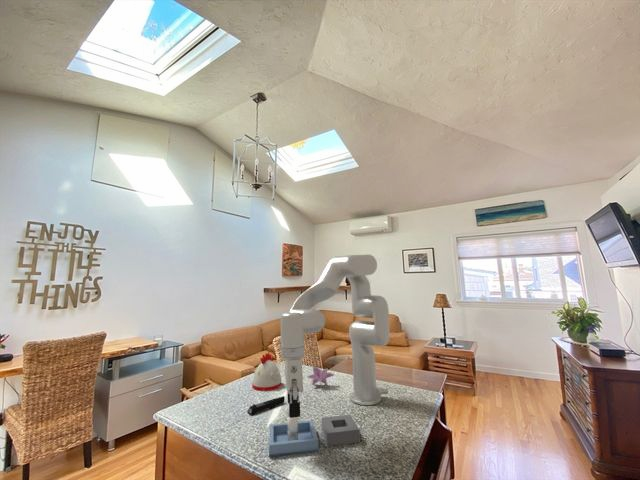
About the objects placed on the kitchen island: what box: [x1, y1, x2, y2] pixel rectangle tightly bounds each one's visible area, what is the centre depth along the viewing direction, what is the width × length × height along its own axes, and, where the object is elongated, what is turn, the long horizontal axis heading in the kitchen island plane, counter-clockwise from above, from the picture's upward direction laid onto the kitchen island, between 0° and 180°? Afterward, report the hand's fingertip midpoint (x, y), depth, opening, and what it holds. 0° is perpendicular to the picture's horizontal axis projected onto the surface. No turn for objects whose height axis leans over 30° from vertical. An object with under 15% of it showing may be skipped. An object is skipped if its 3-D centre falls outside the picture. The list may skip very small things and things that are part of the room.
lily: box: [307, 366, 335, 391], centre depth 129 cm, size 12×12×10 cm
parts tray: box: [268, 419, 319, 458], centre depth 83 cm, size 14×12×3 cm
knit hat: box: [251, 352, 282, 392], centre depth 133 cm, size 14×14×15 cm
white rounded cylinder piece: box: [287, 403, 299, 441], centre depth 84 cm, size 3×3×10 cm
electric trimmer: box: [247, 395, 285, 416], centre depth 108 cm, size 4×16×3 cm, turn 130°
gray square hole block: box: [320, 414, 360, 447], centre depth 87 cm, size 10×10×4 cm
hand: (293, 409), depth 85 cm, fingers open, 9 cm apart
